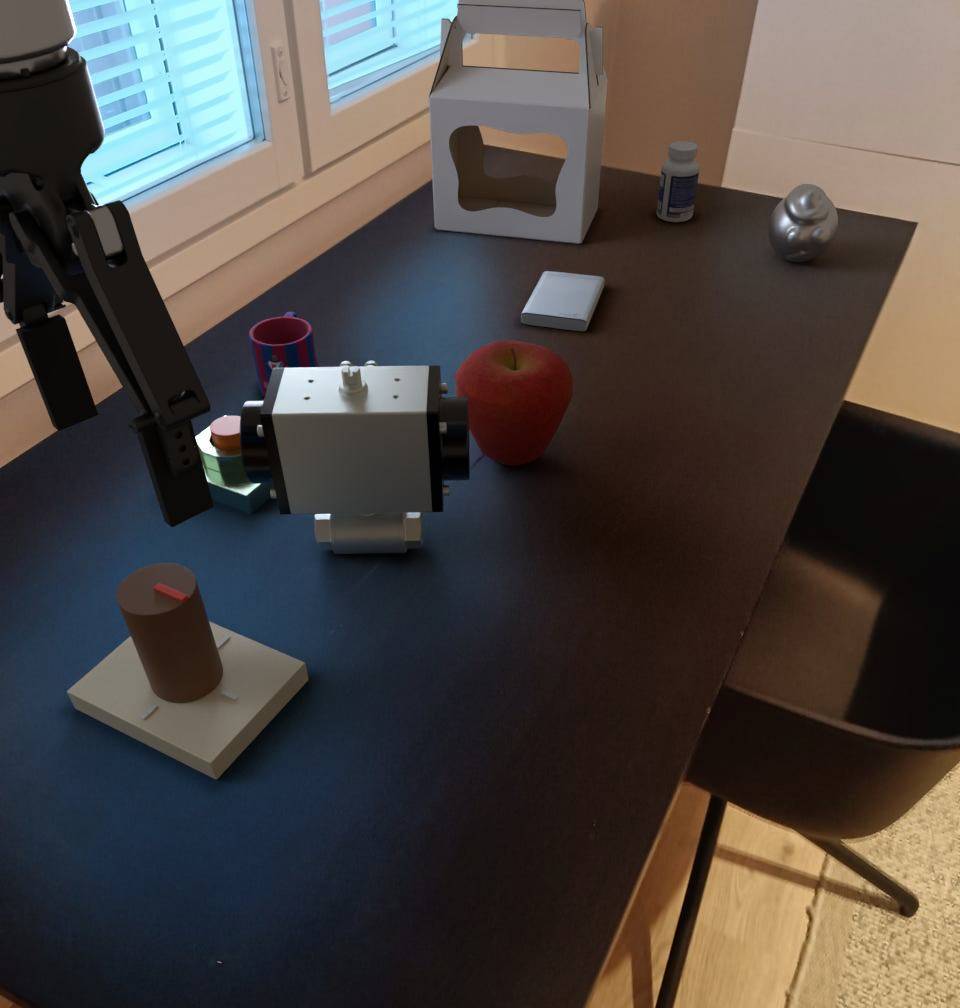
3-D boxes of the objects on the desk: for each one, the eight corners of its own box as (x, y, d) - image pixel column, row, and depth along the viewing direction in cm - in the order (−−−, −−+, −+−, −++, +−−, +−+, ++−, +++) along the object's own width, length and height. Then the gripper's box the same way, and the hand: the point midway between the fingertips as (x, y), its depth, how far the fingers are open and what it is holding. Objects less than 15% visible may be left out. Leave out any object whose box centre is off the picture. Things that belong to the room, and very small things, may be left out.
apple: (466, 495, 89) (463, 382, 81) (451, 434, 97) (447, 325, 88) (578, 483, 90) (587, 371, 82) (555, 424, 98) (560, 315, 89)
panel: (74, 708, 71) (65, 689, 69) (173, 620, 77) (167, 601, 76) (216, 780, 66) (209, 761, 64) (308, 679, 73) (305, 660, 71)
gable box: (432, 230, 135) (422, 0, 115) (457, 197, 144) (451, -22, 124) (583, 245, 130) (599, 9, 111) (599, 210, 139) (617, -14, 119)
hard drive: (587, 319, 111) (605, 275, 120) (520, 312, 113) (543, 269, 121) (586, 332, 112) (604, 288, 121) (520, 324, 114) (542, 281, 122)
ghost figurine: (747, 262, 126) (762, 185, 119) (781, 240, 131) (798, 165, 124) (808, 281, 122) (828, 202, 114) (841, 258, 127) (862, 180, 119)
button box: (163, 482, 91) (152, 447, 89) (229, 433, 97) (221, 399, 95) (251, 514, 88) (242, 479, 85) (313, 461, 94) (308, 427, 91)
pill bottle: (699, 215, 137) (710, 144, 131) (678, 226, 135) (688, 154, 128) (669, 206, 140) (678, 136, 133) (648, 216, 137) (656, 145, 130)
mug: (252, 401, 102) (240, 343, 97) (279, 356, 109) (268, 301, 104) (311, 405, 101) (302, 347, 96) (334, 360, 108) (326, 304, 103)
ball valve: (471, 512, 87) (467, 336, 75) (471, 571, 81) (467, 391, 69) (280, 515, 87) (244, 340, 75) (267, 575, 81) (225, 395, 69)
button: (205, 445, 89) (201, 429, 88) (229, 427, 92) (226, 411, 90) (234, 455, 88) (231, 439, 87) (258, 436, 90) (255, 421, 89)
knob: (135, 686, 69) (97, 595, 63) (184, 641, 73) (153, 550, 66) (190, 713, 68) (157, 621, 61) (238, 665, 71) (211, 574, 64)
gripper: (223, 95, 36) (304, 529, 51) (-38, -2, 48) (88, 367, 64) (38, 141, 32) (184, 594, 47) (-192, 23, 45) (-19, 409, 60)
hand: (129, 465), depth 55 cm, fingers open, 13 cm apart
